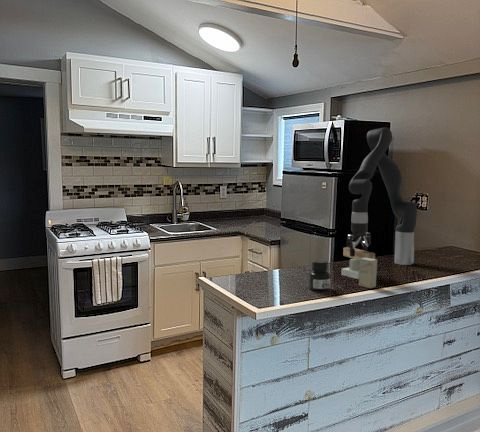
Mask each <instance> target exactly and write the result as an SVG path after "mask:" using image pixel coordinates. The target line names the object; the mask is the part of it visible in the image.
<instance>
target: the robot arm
mask: <svg viewBox="0 0 480 432" xmlns="http://www.w3.org/2000/svg"><path fill="white" fill-rule="evenodd" d="M366 133H367V134H366V140H367V144H368V147H369V149H370V151H371V152H369V153H368V155H366V157H364V159H363V160H362V162H361V165H360V167H359V169H358V171H357V172H356V173H355V174H354V176H352V178H351V179H350V181H349V184H348V190H349V192H350V193H351V194H353V195H361V197H360V198H357V199H354V200H352V205H351V217H350V218H351V219H350V220H351V221H350V222H351V223H350V224H351V225H350V230H351V232H352V233H351V234H347V235H346V244H345V245H346V247H348V248H350V256H352V257H354V256H355V249H354V248H356V247H357V246H358V245H359V244H361V245H362V250H364V251H367V252H368V247H369V246H371V245H372V233H371V232H368V231H369V230H368V229H369V228H368V225H369V224H368V223H369V215H368V208H369V207H368V205H369V201H370V200H369V199H370V196H371V194H372V191H373V183H372V181H371V179H372V178H373V176H374V174H375V172H376V170H377V167H378V169H379V171H380V175H381V179H382V181H383V183H384V185H385V188H386V192H387V195H388V198H389V200H390V205H391V209H392V213H393V215H394V216H395V217H396V218H399V219H402V223H400V224H397V225H396V226H395V238H394V239H395V240H394V264H395V265H401V266H411V265H413V264H414V261H415V244H414V242H415V241H414V239H415V228H416V226H417V215H418V208H417V204H416V203H415V202H413V201H407V200H403V198H402V194H401V187H402V183H403V175H402V172H401V170H400V167H399V166H398V164H397V163H396V162H395V161H394V160H393V159H391V158H390V157H389V156H388V155H387V154H386V151H387V150H388V148H389V147H390V145H391V143H392V141H393V133H392V131H391V129H390V128H389V127H380V128H374V129H370V130H369V131H368V132H366Z"/></svg>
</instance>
